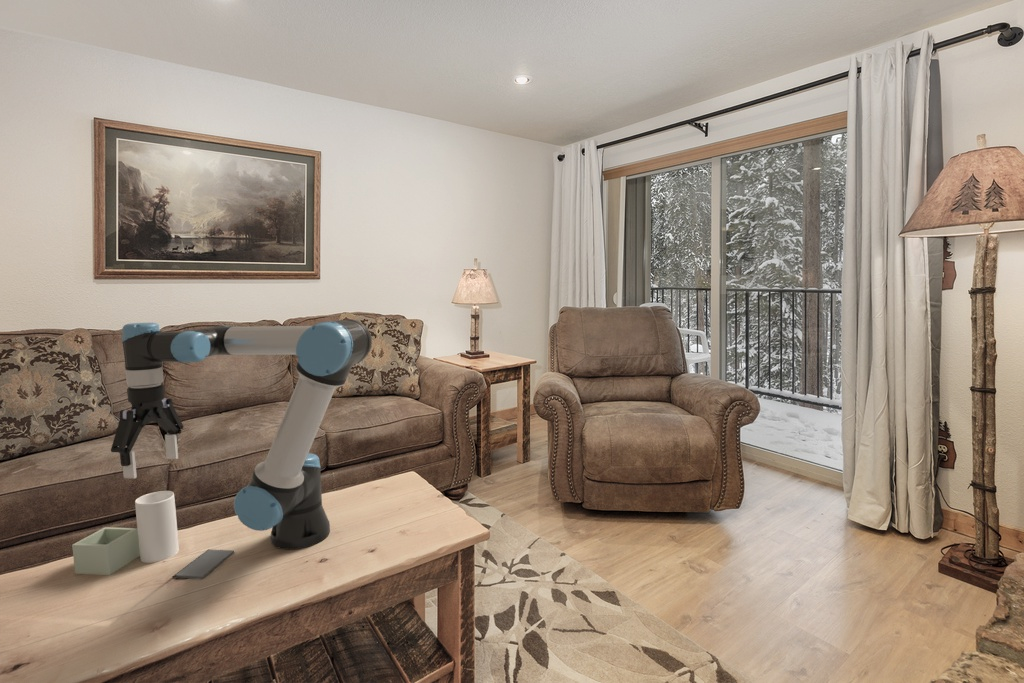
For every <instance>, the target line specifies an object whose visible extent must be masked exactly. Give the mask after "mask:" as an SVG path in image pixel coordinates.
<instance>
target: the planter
mask: <svg viewBox="0 0 1024 683" xmlns="http://www.w3.org/2000/svg"><path fill="white" fill-rule="evenodd" d="M71 547H72V556H73V564H74V574H77V575H79V574H80V575H95V576H97V575H101V576H102V575H103V576H111V575H112V574H114V573H115V572H117V571H118V570H120V569H121V568H123V567H125V566H126V565H128V564H129V563H131V562H133V561H134V560H135V559H137V558H138V557H139V558H140V550H139V539H138V529H137V528H136V527H135V528H134V527H133V528H132V527H115V526H114V527H113V526H110V527H109V526H106V527H105V526H104V527H103V528H100V529H99V530H97V531H96V532H94V533H92V534H90V535H87V536H86V537H84V538H82V539H80V540H79V541H77V542H75V543H73V544H72V545H71Z"/></svg>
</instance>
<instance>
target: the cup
mask: <svg viewBox="0 0 1024 683" xmlns="http://www.w3.org/2000/svg"><path fill="white" fill-rule="evenodd" d="M134 504H135V505H134V508H135V515H136V527H137V529H138V539H139V550H140V556H139V559H140V562H142V563H147V564H148V563H157V562H162V561H166V560H168V559H170V558H172V557H174V556H176V555H177V554H178V553H179V551H180V547H179V535H178V534H179V533H178V523H177V522H178V521H177V520H178V519H177V511H176V501H175V493H174V491H171V490H160V491H154V492H150V493H147V494H143V495H141V496H139V497H138V498H136V499H135V501H134Z"/></svg>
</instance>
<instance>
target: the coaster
mask: <svg viewBox="0 0 1024 683" xmlns="http://www.w3.org/2000/svg"><path fill="white" fill-rule="evenodd" d="M234 553H235V550H233V549H232V550H231V549H230V550H229V549H209V548H208V549H206V550H205V551H204V552H202V554H200V555H199V556H197V557H196V558H195V559H193V561H191V562H190V563H188V564H187V565H186V566H184V567H183V568H181V570H179V571H178V572H177V573H175V574H174V575H173V576H171V578H177V579H178V578H179V579H194V580H195V579H196V580H198V579H199V580H203V579H205V578H206V577H207V576H208V575H210V574H211V573H212V572H213V571H214V570H215V569H217V568H218V567H219V566H220V565H221V564H223V563H224V562H225V561H226V560H228V559H229V558H230V557H231V556H233V554H234Z"/></svg>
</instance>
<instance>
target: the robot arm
mask: <svg viewBox="0 0 1024 683" xmlns="http://www.w3.org/2000/svg"><path fill="white" fill-rule="evenodd" d="M121 330H122V336H121V337H122V338H121V343H122V349H123V357H124V358H123V359H124V368H125V369H124V370H125V379H126V385H127V386H128V388H127V389H126V394H127V402H128V403H129V404H130V405H131V407H130V408H131V409H125V410H124V409H121V410H120V412H119V422H118V424H117V428H116V430H115V435H114V438H113V442H112V445H111V448H110V452H111V453H118V454H119V458H120V465H121V467H122V473H123V474H122V475H123V479H137V478H138V476H137V464H136V452H135V450H133V447H134V445H135V443H136V441H137V440H138V437H139V435H140V433H141V431H142V429H143V428H144V427H146V426H147V424H150V423H152V422H156V423H157V424H158V425H159V426H160V427H161V428H162V429H163V430H164V431H165V432H166V434H164V442H165V454H166V459H167V460H177V459H179V451H178V450H179V449H178V444H179V441H178V439H179V437H178V435H179V434H182V430H183V429H184V424H183V423H182V421H181V419H180V417H179V415H178V413H177V411H176V409H175V407H174V404H173V400H172V398H165V386H164V384H163V383H164V380H165V379H164V371H163V363H164V362H165V363H184V364H191V363H199V362H203V361H205V359H206V358H207V357H208V358H209V357H214V356H233V355H234V356H235V355H239V356H240V355H242V356H243V355H244V356H245V355H246V356H247V355H248V356H249V355H254V356H255V355H258V356H259V355H263V356H265V355H270V356H271V355H274V356H275V355H276V356H277V355H278V356H279V355H282V356H283V355H284V356H285V355H286V356H287V355H292V356H293V355H295V356H296V357H297V364H296V366H295V371H296V372H297V373H298V375H299V377H298V380H297V382H296V385H295V387H294V390H293V392H292V394H291V397H290V399H289V401H288V404H287V406H286V409H285V411H284V414H283V417H282V419H281V422H280V424H279V425H278V426H279V427H278V428H277V431H276V433H275V436H274V438H273V441H272V444H271V446H270V447H269V448H270V449H269V451H268V454H267V455H266V458H265V460H263V461H261V462H259V463H258V464H256V466H255V467H254V469H253V472H252V475H251V477H250V480H249V482H248V484H247V485H246V486H244V487H242V488H241V489H240V490H239V491H238V492H237V493H236V495H235V496H234V501H233V509H234V513H235V514H236V516H237V518H238V520H239V521H240V523H242V525H244V526H245V527H247V528H249V529H251V530H253V531H259V532H260V531H261V532H263V531H267V530H270V529H271V531H270V542H271V544H272V546H274V547H275V548H277V549H283V550H296V549H297V550H298V549H304V548H308V547H311V546H314V545H316V544H319V543H320V542H322V541H324V540H325V539H326V538H327V537H328V536H329V535H330V533H331V525H330V520H329V519H328V516H327V514H326V512H325V509H324V507H323V500H322V499H323V497H322V495H323V494H322V477H321V468H322V467H321V464H320V463H321V462H320V458H319V456H318V454H315V453H311V452H310V449H311V448H312V446H313V443H314V441H315V439H316V435H317V434H318V431H319V428H320V426H321V424H322V421H323V419H324V417H325V415H326V412H327V409H328V407H329V405H330V402H331V400H332V397H333V395H334V393H335V391H336V389H337V388H340V387H343V386H344V385H345V383H346V381H347V379H348V376H349V374H350V372H351V369H352V367H353V366H354V365H356V364H358V363H361V362H362V361H363V360H364V359H366V357H368V355H369V353H370V352H371V351H372V350H371V349H372V344H373V340H372V335H371V332H370V330H369V329H368V327H367V326H366V325H365V324H364V323H362V322H361V321H358V320H356V319H352V318H343V319H338V320H334V321H327V320H326V321H321V322H319V323H316V324H315V325H289V326H288V325H284V326H283V325H282V326H281V325H275V326H273V325H272V326H270V325H269V326H268V325H267V326H260V325H259V326H229V325H217V326H213V327H205V328H204V327H203V328H196V329H186V330H179V331H175V330H174V331H171V330H170V331H162V330H161V329H160V325H159V324H158V322H133V323H131V322H130V323H127V324H124V325H123V326H122V329H121Z"/></svg>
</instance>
